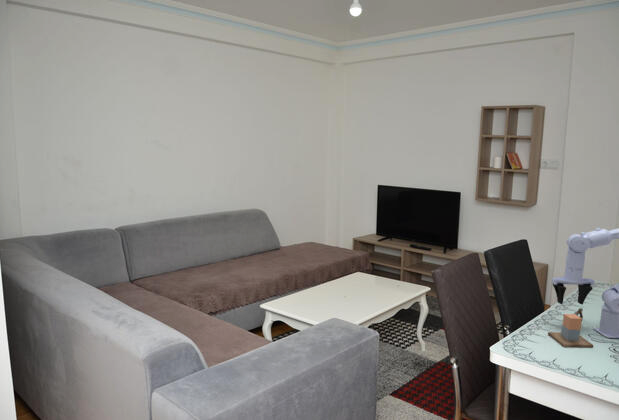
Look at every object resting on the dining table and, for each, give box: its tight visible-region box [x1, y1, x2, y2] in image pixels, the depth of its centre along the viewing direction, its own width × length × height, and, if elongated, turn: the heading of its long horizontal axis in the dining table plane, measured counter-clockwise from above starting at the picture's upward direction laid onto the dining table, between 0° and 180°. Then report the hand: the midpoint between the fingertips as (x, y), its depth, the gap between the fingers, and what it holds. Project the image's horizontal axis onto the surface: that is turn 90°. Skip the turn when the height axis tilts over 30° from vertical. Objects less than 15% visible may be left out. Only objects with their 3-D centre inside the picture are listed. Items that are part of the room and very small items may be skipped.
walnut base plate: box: [547, 331, 594, 349], centre depth 161 cm, size 10×10×1 cm
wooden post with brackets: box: [573, 307, 584, 319], centre depth 181 cm, size 2×8×5 cm, turn 117°
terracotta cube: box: [562, 313, 583, 331], centre depth 160 cm, size 4×4×4 cm
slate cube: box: [560, 324, 581, 341], centre depth 161 cm, size 4×4×4 cm
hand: (570, 303), depth 172 cm, fingers open, 7 cm apart
